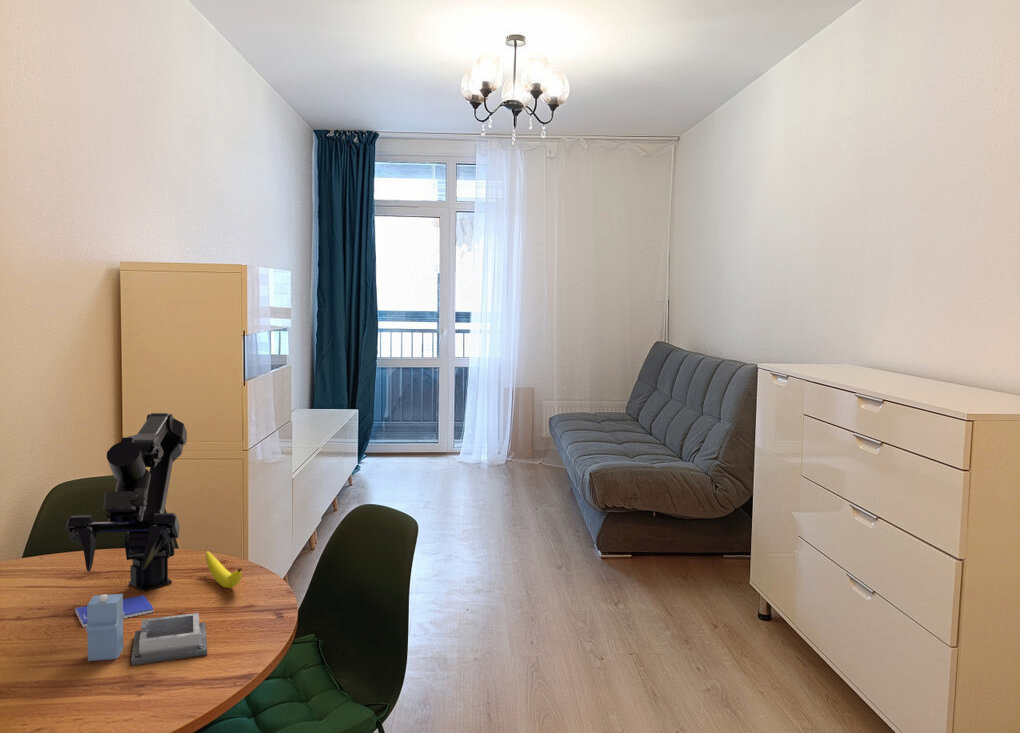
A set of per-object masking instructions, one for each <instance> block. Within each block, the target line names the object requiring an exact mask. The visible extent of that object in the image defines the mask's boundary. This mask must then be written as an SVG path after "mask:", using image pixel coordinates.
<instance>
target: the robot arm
mask: <svg viewBox="0 0 1020 733" xmlns="http://www.w3.org/2000/svg"><path fill="white" fill-rule="evenodd" d="M187 434H188V432H187V428H186V426H185V424H184V423H183V422H182V421H179V420H178V419H176V418H174V416H173V414H171V413H169V412H151V413H149V414H147V415H146V421H145V422H144V424H143V425H142V426H141V428H140V429H139V431H138V432H137V434H134V435H128V436H127V437H126V436H125V437H121V441H120V442H117V443H114V444H113V445H112V446H111V447H110V448H109V449H108V450H107V452H106V459H107V462H108V465H109V467H110V470H111V472H112V475H113V477H114V479H116V480H117V482H116V486H115V491H106V492H105V493H104V498H103V499H104V500H103V508H102V510H103V511H105V518H106V519H108V521H98V522H97V521H95V519H94V516H93V515H92V514H91V515H90V514H88V515H87V514H85V515H84V514H83V515H80V514H79V515H72V516H70V517H69V518H67V520H66V524H65V528H64V529H65V532H66V533H67V535H68V537H69V538H70V540H71V542H74V543H77V545H78V546H80V547H82V550H83V556H84V561H85V562H84V563H85V567H86V568H85V569H86V571H87V573H88V572H89V573H90V572H91V570H92V567H93V565H94V564H93V563H94V557H95V553H96V552H95V551H96V547H97V542H96V540H95V539H96V538H97V536H98V533H99V534H100V533H101V534H103V533H125V535H124V536H125V537H124V549H125V550H124V551H125V558H126V561H132V565H130V570H129V571H130V572H129V573H130V575H129V576H130V578H129V579H130V580H128V585H130V586H133V587H134V588H135V589H138V590H140V591H144V592H145V591H148V590H151V589H155V588H159V587H162V586H163V587H164V586H166V585H169V584H172V582H173V581H172V580H173V579H172V580H171V579H170V578H169V572H168V571H169V567H168V566H169V564H168V562H169V559H170V557H174V556H175V555H176V554H175V543H174V540H177V539H178V538H179V535H180V526H181V525H180V523H179V522H180V521H179V519H178V515H177V514H175V512H165V509H166V504H167V497H168V493H169V492H168V491H169V487H170V479H171V475H172V469H173V464H174V462H175V461H176V460H177V459H178V458H179V457H180V456H181V455H182V453H183V449H184V446H185V445H187V441H188V439H187V438H188V435H187ZM147 468H149V470H148V469H147Z"/></svg>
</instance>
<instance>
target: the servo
mask: <svg viewBox="0 0 1020 733" xmlns="http://www.w3.org/2000/svg"><path fill="white" fill-rule="evenodd" d="M123 599H124V593H119V594H117V593H116V594H114V593H113V594H106V593H105V594H99V595H98V594H97V595H93V596H92V597H91V599H90V600H89V602H88V603H87V604H86V606H87V626H86V627H85V632H87V661H88V662H91V661H94V662H95V661H106V660H108V661H109V660H117V659H118V658H119V656H120V655H121V653H122V652H123V650H124V619H123V617H124V616H125V612H123Z"/></svg>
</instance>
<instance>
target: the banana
mask: <svg viewBox="0 0 1020 733" xmlns="http://www.w3.org/2000/svg"><path fill="white" fill-rule="evenodd" d="M205 554H206V555H205V557H206V558H205V559H206V564H207V567H208V570H209V571H210V574H211V576H212V577H213V578H214V579H215V581H216V582H217V584H218V585H220V586H221V587H222V588H225V589H232V588H234V587H236V586H237V585H238V584H240V581H241V580H242V579H241V578H242V575H243V574H242V570H243V569H242V568H238V569H237V570H236V571H233V572H230V571H229V570H228V569H227V568H226V567H225V566H224V565H223V564H222V563H221V562H220V561H219V559H217V558H216V557H215V556H214V555H213V554H212V553H211V552H210V550H209V551H206V553H205Z"/></svg>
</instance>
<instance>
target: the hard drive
mask: <svg viewBox="0 0 1020 733" xmlns="http://www.w3.org/2000/svg"><path fill="white" fill-rule="evenodd" d="M75 612H76V613H75V615H76V614H77V615H76V617H77V616H78V617H77V618H79V619H78V620H80V621H79V622H81V623H80V624H82V625H81V626H83V627H82V628H86V627H85V626H87V605H86V606H85V605H84V606H80V607H79V606H78V607H76V608H75ZM123 612H125V616H124V617H123V618H124V619H128V617H129V618H132V617H133V616H134V617H137V616H138V615H139V616H142V614H143V615H148V614H151V613H152V612H153V613H154V607H153V606H152V603H150V601H149V600H148V599H147V598H146V596H145V595H143V594H142V595H138V596H133V597H128V598H127V597H126V598H123ZM147 613H148V614H147Z"/></svg>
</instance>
